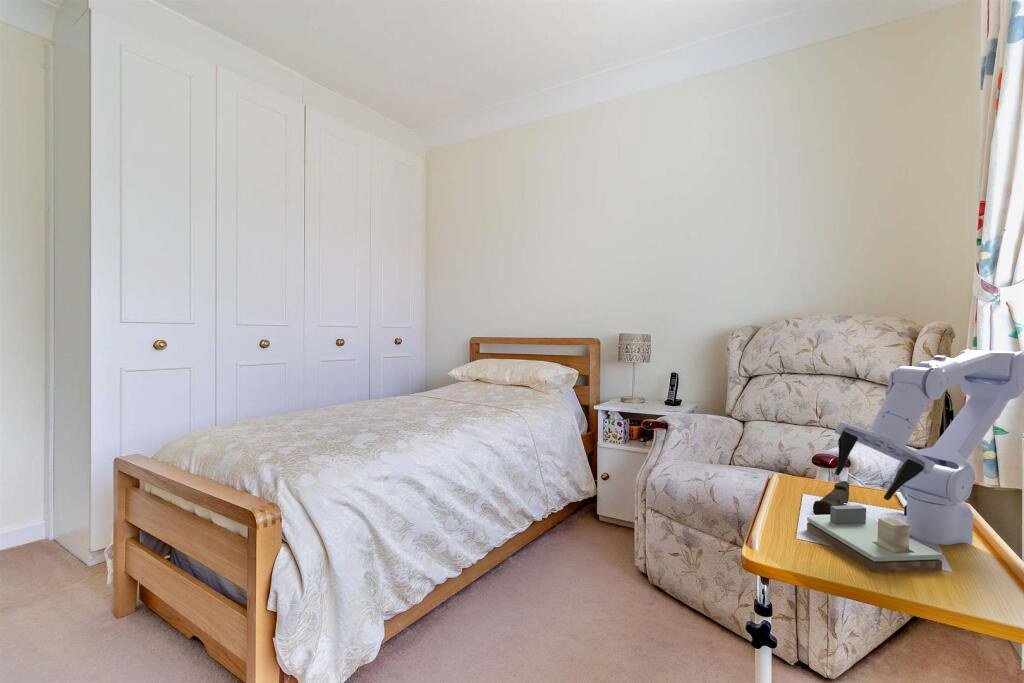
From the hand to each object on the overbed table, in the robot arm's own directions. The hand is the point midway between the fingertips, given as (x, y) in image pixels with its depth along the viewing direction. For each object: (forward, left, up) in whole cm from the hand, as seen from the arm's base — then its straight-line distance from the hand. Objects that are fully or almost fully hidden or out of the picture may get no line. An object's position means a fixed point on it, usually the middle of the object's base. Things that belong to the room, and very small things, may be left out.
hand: (861, 485), depth 84 cm
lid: (-3, -2, -10) cm, 11 cm away
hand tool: (-14, -25, -14) cm, 32 cm away
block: (-3, +3, -12) cm, 13 cm away
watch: (-27, -16, -14) cm, 35 cm away
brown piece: (-3, -2, -14) cm, 14 cm away
